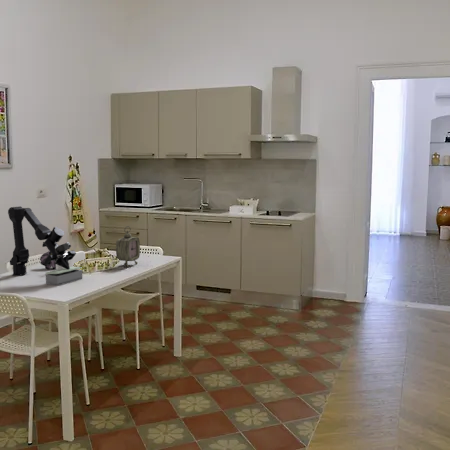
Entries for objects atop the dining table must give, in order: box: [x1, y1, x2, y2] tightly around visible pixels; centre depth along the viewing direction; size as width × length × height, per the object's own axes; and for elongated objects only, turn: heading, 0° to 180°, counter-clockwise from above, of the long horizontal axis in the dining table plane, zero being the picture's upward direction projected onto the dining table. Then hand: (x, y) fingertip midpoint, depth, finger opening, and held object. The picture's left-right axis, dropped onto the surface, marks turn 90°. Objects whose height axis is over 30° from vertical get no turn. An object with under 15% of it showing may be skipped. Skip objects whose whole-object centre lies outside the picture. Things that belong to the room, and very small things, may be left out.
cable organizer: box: [55, 250, 86, 270], centre depth 323 cm, size 15×11×12 cm
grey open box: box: [45, 270, 83, 287], centre depth 296 cm, size 9×18×5 cm, turn 150°
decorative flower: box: [39, 250, 56, 270], centre depth 333 cm, size 15×12×15 cm
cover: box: [45, 267, 82, 275], centre depth 295 cm, size 9×18×1 cm, turn 150°
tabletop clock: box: [115, 225, 141, 268], centre depth 338 cm, size 14×9×25 cm, turn 158°
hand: (68, 269), depth 293 cm, fingers closed, pressing on cover
